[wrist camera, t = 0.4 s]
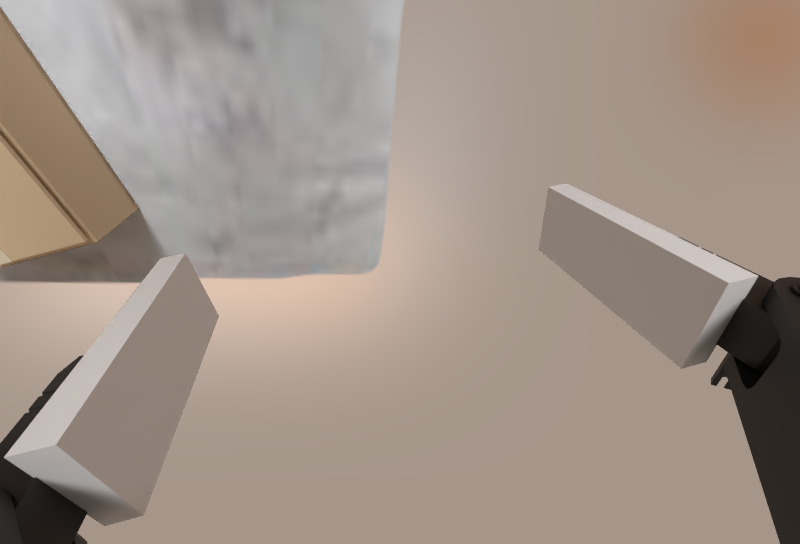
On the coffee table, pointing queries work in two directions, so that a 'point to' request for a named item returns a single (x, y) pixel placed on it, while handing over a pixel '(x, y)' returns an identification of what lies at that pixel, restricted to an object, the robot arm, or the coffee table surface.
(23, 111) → the carton
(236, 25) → the coffee table surface
